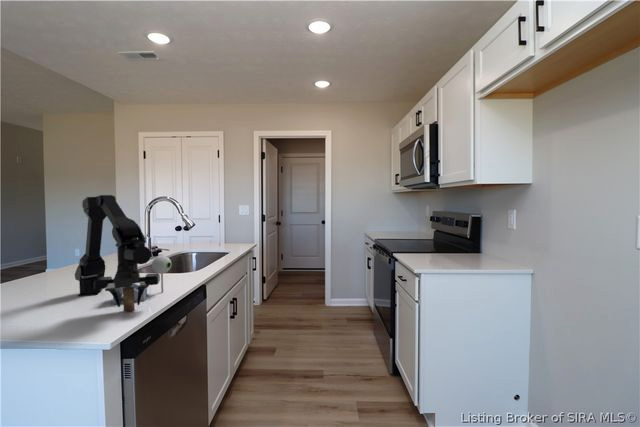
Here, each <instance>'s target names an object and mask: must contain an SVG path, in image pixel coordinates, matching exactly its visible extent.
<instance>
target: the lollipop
mask: <svg viewBox="0 0 640 427" xmlns="http://www.w3.org/2000/svg"><path fill="white" fill-rule="evenodd" d="M171 267H172V260H171V259H170V258H169V257H168V256H165V255H159V256H156V257H155V258H154V259H153V261H152V263H151V268H152V271H154V273H158V274H159V275H160V281H161V282H160V285H161V293H162V294H163V293H164V274H165V273H166V274H167V272H169V271H170V269H171Z"/></svg>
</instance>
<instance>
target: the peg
mask: <svg viewBox="0 0 640 427" xmlns="http://www.w3.org/2000/svg"><path fill="white" fill-rule="evenodd" d="M122 304H123V313H131V312H134V311H135V306H136V305H135V302H134V286H131V287H124V288H123V303H122Z"/></svg>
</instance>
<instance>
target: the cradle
mask: <svg viewBox="0 0 640 427" xmlns="http://www.w3.org/2000/svg"><path fill="white" fill-rule="evenodd" d="M139 285H140V284H138V283H132V286H134V303H137V299H138V287H139ZM123 288H124V287H120V299H121V304H123ZM148 297H149V293H148V287H147V288H145V290H144V292H143V295H142V298H141V301H140V302H145V301H146V300H147V299H148ZM109 305H117V303H116V301H115V299H114V297H113V296H112V300H111V302H109Z"/></svg>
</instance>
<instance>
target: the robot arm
mask: <svg viewBox="0 0 640 427" xmlns="http://www.w3.org/2000/svg"><path fill="white" fill-rule="evenodd" d="M81 204H82V208H83V212H84V214H85V216H86V217H87V229H86V230H87V231H86V240H85V241H86V242H85V252H84V255H83V256H81V258H80V259H79V262H78V266H77V267H76V270H75V273H74V278H75V280H76V281H78V282H79V285H78V286H79V294H78V295H77V296H78V297H83V296H84V297H85V296H95V295H99V294H100V293H101V292H102V291H103V290H105V292H109V293H110V294H111V295H112V298H113V297H114V299H115V301H116V303H117V304H116V305H117V307H118V308H120V307H121V304H122V303H121V299H120V287H131V286H132V283H135V284H138V285H139V287H138V299H137V302H136V303H137V304H136V305H137V306H139V305H140V303H141V302H142V301H141V298H142V295H143V292H144V290H145V288H147V289H148V288H149V286H153V285H155V286H156V285H159V282H160V281H161V274H159V273H156V272H154V273H147V274H146V275H145V276H141V275H140V271H139V270H138V269H139V268H138V265H144V264H147V263H148V262H149V261H150V259H151V258H152V251H151V250H150V248H148V247H147V246H145V243H146V237H145V234H144V233H143V231H142V229H141V227H140V226H139V224H138V223H137V222H136V221H135V220H134V219H131V218H129V217H127V216H126V214H125V213H124V211H123V209H122V208H121V206H120V205H119V203H118V202H117V199H116V196H115V195H112V194H99V195H97V196H87V197H86V198H84V199H83V200H82V202H81ZM106 218H108V220H109V223H111V225H112V230H111V235H112V237H113V239H114V240H115V243H116V244H115V247H117V248H116V249H117V250H116V251H117V252H116V253H117V266H116V267H117V268H116V269H117V270H116V272H115V275H114V277H112V276H105V273H106V261H105V260H104V258H103V257H102V256H101V248H102V247H101V245H102V237H103V236H102V235H103V226H104V225H103V224H104V220H105V219H106Z"/></svg>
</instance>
